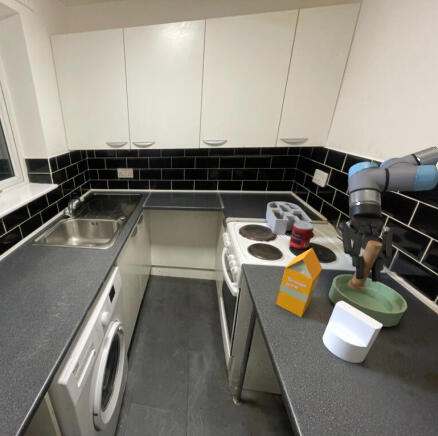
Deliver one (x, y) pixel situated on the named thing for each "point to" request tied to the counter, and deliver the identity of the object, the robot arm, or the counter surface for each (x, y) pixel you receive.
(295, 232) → the canned food
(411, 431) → the counter surface
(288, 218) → the grey compartment organizer
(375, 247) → the muddler
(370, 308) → the bowl
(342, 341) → the base with upright slab
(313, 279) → the orange juice
